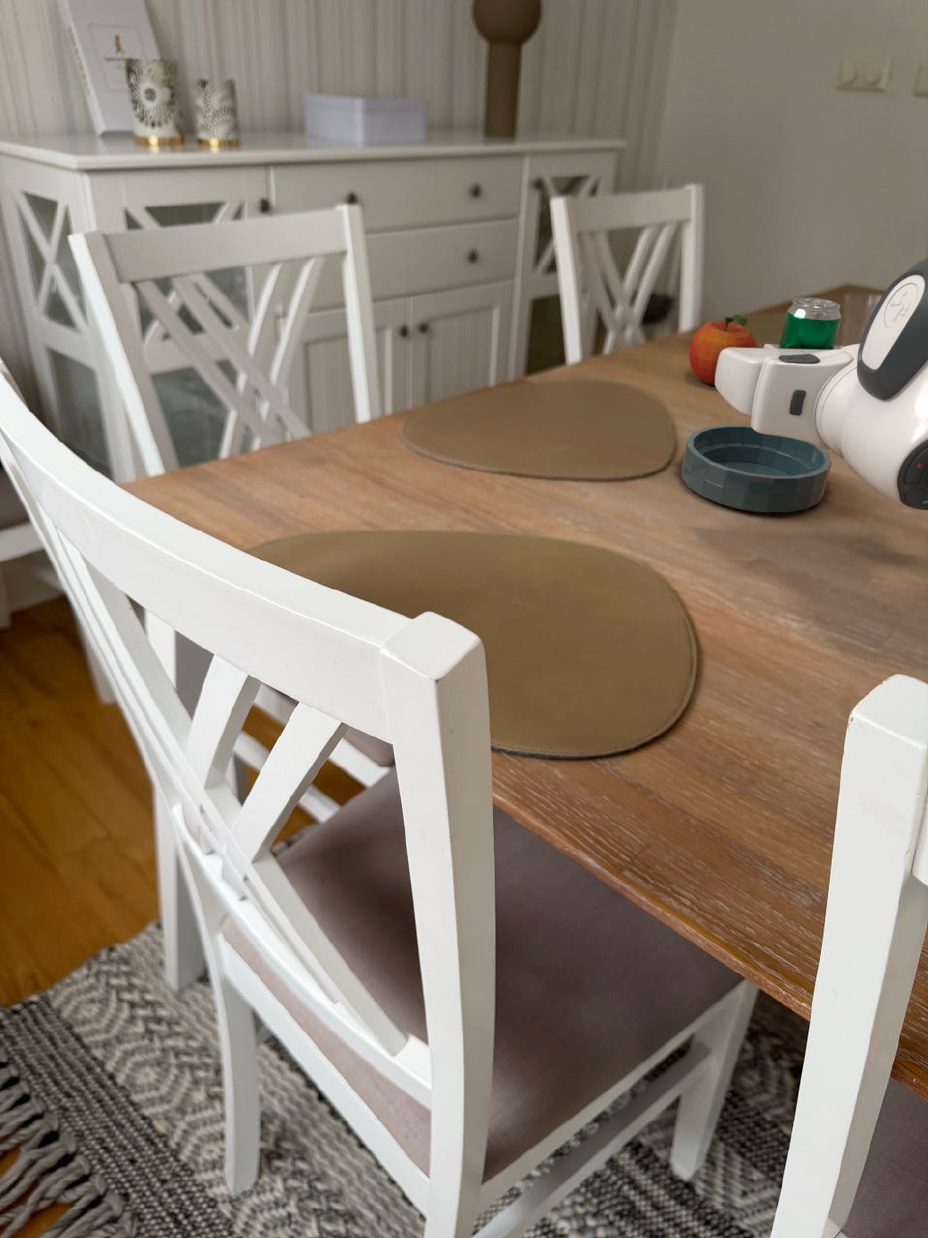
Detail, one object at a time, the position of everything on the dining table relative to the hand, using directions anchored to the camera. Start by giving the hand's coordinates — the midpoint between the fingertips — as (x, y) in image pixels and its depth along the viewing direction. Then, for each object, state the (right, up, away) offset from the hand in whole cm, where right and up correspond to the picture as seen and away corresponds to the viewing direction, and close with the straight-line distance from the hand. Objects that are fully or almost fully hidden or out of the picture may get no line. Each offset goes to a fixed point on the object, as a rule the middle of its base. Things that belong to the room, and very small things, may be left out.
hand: (800, 352), depth 93 cm
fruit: (+4, +8, +46) cm, 47 cm away
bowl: (-1, -11, +14) cm, 18 cm away
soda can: (0, -7, +3) cm, 7 cm away
